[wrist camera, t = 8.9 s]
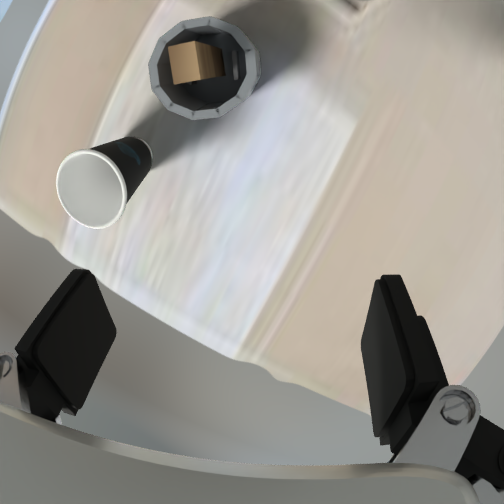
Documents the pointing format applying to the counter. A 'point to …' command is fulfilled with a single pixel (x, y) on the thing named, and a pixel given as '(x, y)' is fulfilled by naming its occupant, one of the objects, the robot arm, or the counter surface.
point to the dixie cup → (102, 180)
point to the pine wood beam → (195, 62)
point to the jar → (211, 89)
